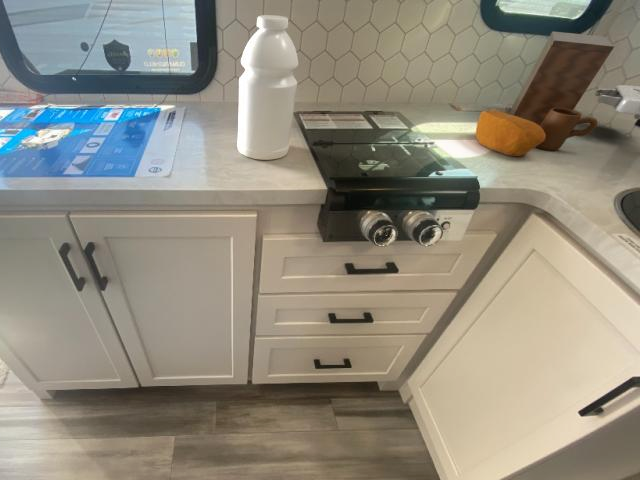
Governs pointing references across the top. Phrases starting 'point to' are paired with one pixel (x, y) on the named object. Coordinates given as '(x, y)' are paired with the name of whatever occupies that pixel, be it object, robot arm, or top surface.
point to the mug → (563, 127)
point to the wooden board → (561, 74)
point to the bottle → (267, 91)
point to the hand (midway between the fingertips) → (597, 95)
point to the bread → (508, 133)
